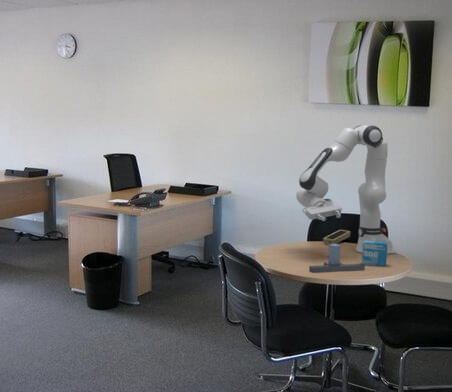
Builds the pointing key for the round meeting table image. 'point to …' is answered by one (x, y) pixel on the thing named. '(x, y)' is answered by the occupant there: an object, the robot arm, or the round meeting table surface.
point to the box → (336, 237)
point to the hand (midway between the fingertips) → (332, 218)
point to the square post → (334, 254)
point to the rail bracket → (336, 267)
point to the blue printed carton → (374, 253)
